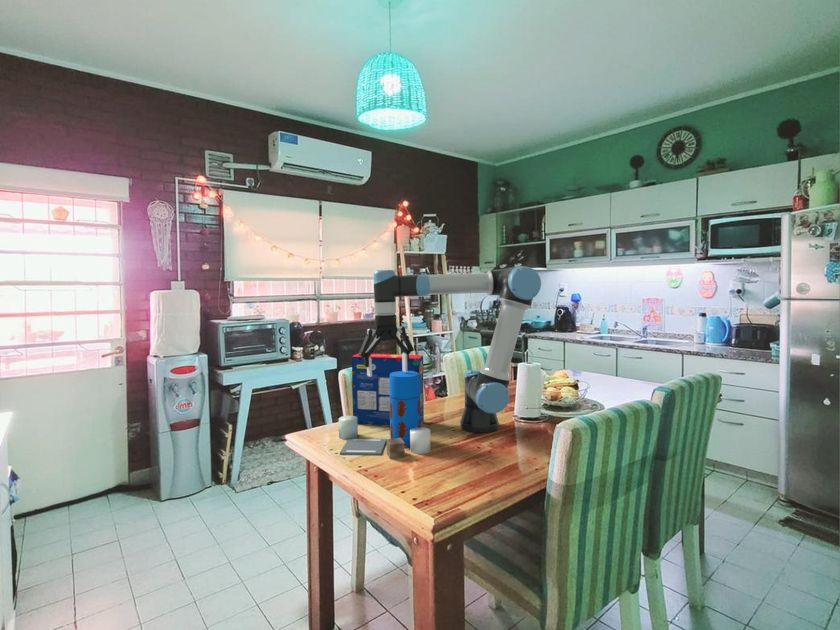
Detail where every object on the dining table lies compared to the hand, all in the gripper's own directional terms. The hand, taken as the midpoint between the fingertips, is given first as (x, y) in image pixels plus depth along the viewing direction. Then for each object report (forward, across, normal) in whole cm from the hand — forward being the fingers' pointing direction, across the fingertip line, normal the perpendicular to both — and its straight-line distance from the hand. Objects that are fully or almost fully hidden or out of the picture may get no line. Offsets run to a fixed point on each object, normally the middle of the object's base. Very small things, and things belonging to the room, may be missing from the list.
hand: (387, 373), depth 162 cm
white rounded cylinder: (+26, -7, +11) cm, 29 cm away
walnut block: (+26, +3, +11) cm, 28 cm away
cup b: (+25, +11, -15) cm, 31 cm away
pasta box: (+26, -9, -23) cm, 35 cm away
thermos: (+26, -6, +1) cm, 26 cm away
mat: (+25, +9, -1) cm, 27 cm away
